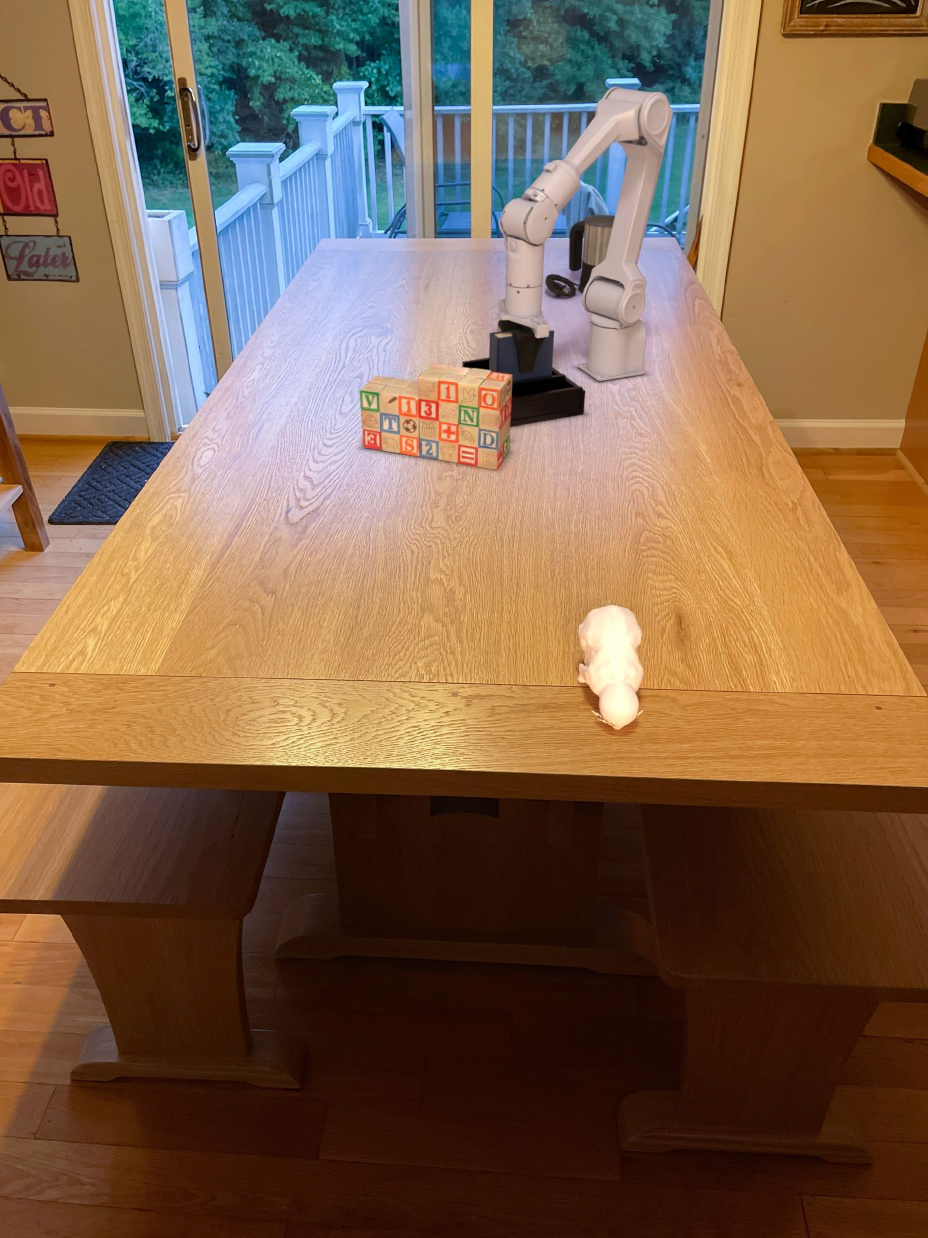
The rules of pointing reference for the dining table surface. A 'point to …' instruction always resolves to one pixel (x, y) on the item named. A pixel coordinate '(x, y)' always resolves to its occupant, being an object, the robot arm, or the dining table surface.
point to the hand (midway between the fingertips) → (520, 367)
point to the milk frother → (584, 252)
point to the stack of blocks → (440, 415)
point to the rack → (540, 396)
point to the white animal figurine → (612, 662)
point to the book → (506, 356)
